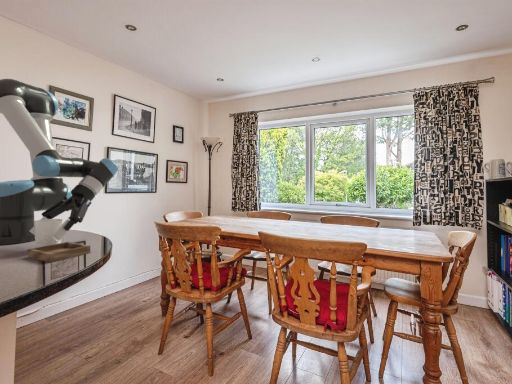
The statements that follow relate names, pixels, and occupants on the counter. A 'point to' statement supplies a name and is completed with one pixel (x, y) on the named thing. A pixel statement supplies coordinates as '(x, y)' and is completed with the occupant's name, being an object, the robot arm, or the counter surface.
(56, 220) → the white cup
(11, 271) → the counter surface
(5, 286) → the counter surface
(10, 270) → the counter surface
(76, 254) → the walnut coaster tray
